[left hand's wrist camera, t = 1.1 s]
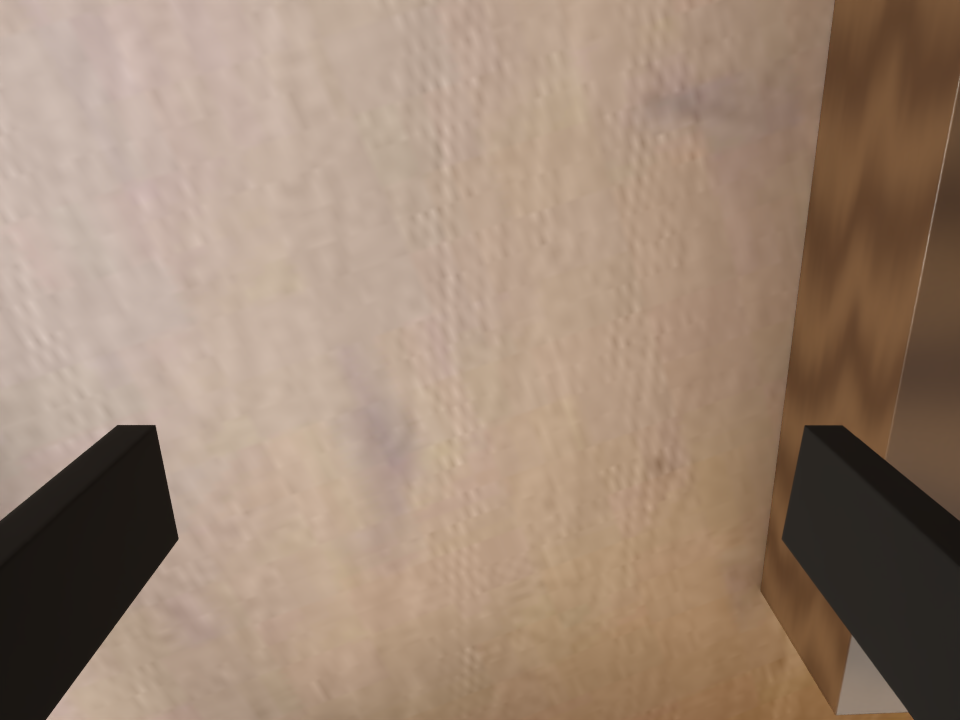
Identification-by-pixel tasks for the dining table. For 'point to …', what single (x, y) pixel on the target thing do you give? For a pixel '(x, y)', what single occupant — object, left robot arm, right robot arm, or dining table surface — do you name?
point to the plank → (876, 298)
